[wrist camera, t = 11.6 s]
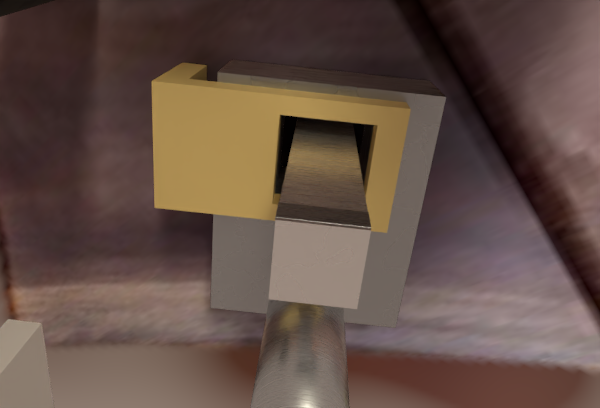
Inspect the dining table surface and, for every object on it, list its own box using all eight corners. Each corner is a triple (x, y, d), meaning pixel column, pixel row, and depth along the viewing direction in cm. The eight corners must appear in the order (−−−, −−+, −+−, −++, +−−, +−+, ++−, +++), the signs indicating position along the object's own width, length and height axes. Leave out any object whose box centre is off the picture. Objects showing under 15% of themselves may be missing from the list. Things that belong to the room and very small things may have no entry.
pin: (299, 106, 31) (274, 219, 17) (351, 112, 31) (371, 229, 17) (294, 155, 33) (267, 299, 18) (344, 161, 33) (357, 309, 18)
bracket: (182, 62, 30) (151, 81, 25) (395, 85, 30) (410, 109, 25) (182, 170, 33) (154, 207, 28) (376, 191, 33) (386, 232, 28)
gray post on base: (232, 59, 30) (122, 156, 14) (429, 80, 30) (555, 203, 14) (223, 270, 36) (140, 510, 20) (387, 288, 36) (439, 542, 20)
